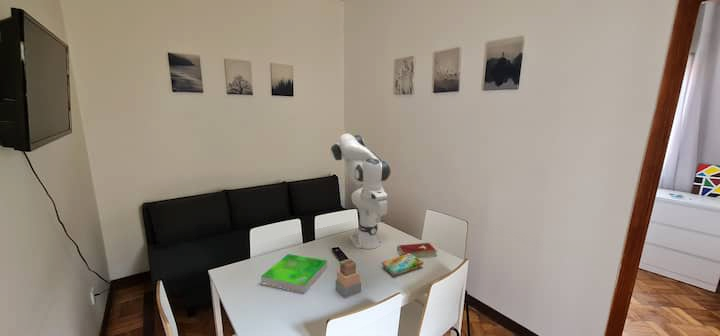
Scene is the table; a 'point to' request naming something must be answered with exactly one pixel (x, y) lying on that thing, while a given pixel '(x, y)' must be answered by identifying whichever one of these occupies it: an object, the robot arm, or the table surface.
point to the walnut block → (348, 267)
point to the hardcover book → (417, 250)
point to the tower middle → (348, 279)
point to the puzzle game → (401, 264)
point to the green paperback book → (295, 273)
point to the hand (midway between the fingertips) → (372, 218)
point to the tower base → (348, 289)
